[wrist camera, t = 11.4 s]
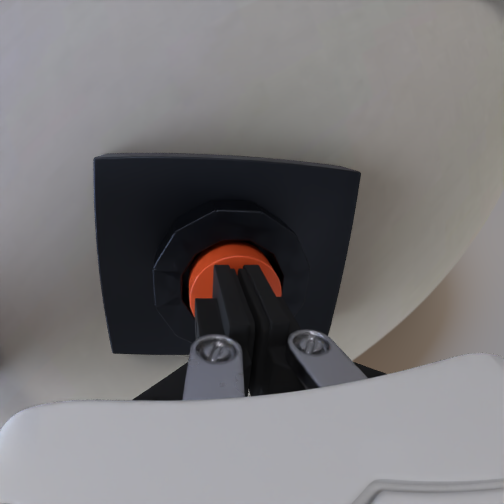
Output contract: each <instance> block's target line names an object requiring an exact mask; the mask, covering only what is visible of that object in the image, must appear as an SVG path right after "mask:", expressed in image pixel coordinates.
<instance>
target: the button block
mask: <svg viewBox="0 0 504 504" xmlns="http://www.w3.org/2000/svg"><path fill="white" fill-rule="evenodd" d="M360 176H361V173H360V172H359V171H355V170H352V169H349V168H345V167H342V166H336V165H328V164H320V163H312V162H303V161H294V160H284V159H273V158H261V157H248V156H233V155H214V154H188V153H110V154H104V155H101V156H98V157H95V158H94V211H95V229H96V243H97V254H98V264H99V273H100V281H101V289H102V296H103V303H104V310H105V316H106V322H107V328H108V333H109V338H110V344H111V349H112V353H115V354H144V355H189V354H190V348H191V345H192V343H193V342H194V341H195V340H196V336H195V317H194V315H193V313H192V311H191V308H190V301H189V282H188V278H189V272H190V268H191V266H192V264H193V262H194V260H195V259H196V257H197V256H198V255H199V254H200V253H201V252H202V251H203V250H205V249H207V248H209V247H210V246H212V245H214V244H216V243H218V242H221V241H226V240H239V241H244V242H247V243H250V244H252V245H254V246H255V247H257V248H258V249H259V250H260V251H261V252H262V253H263V254H264V255H265V256H266V258H267V260H268V261H269V263H270V264H271V266H272V268H273V269H274V271H275V273H276V274H277V276H278V278H279V280H280V284H281V291H282V294H281V297H282V298H283V299H284V301H285V303H286V304H287V306H288V308H289V310H290V311H291V313H292V315H293V316H294V318H295V320H296V322H297V323H298V325H299V327H300V328H301V330H302V329H310V330H316V331H319V332H322V333H324V334H326V335H327V336H328V333H329V329H330V326H331V322H332V318H333V314H334V310H335V305H336V301H337V297H338V293H339V288H340V284H341V279H342V275H343V270H344V266H345V261H346V256H347V251H348V246H349V241H350V236H351V230H352V225H353V219H354V214H355V208H356V202H357V196H358V189H359V183H360Z"/></svg>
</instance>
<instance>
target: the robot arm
mask: <svg viewBox="0 0 504 504" xmlns="http://www.w3.org/2000/svg"><path fill="white" fill-rule="evenodd" d="M195 336H196V340H195V341H194V342H193V343H192V345H191V348H190V354H189V360H188V362H187V363H186V364H185V365H183V366H182V367H180V368H179V369H177V370H176V371H174V372H173V373H172V374H170V375H169V376H167V377H166V378H164V379H163V380H161V381H160V382H158V383H157V384H155V385H154V386H152V387H151V388H149V389H148V390H146V391H145V392H143V393H142V394H140V395H139V396H137V397H136V398H134V399H133V400H98V399H96V400H69V401H57V402H52V403H47V404H41V405H37V406H33V407H30V408H27V409H25V410H22V411H20V412H18V413H17V414H15V415H14V416H12V417H11V418H10V419H9V420H8V421H7V422H6V423H5V424H4V426H3V427H2V428H1V430H0V504H504V358H503V357H502V356H499V355H495V354H490V353H471V354H465V355H460V356H456V357H452V358H448V359H444V360H440V361H436V362H433V363H430V364H426V365H423V366H419V367H415V368H411V369H408V370H403V371H399V372H395V373H391V374H385V373H383V372H380V371H377V370H374V369H371V368H368V367H366V366H363V365H360V364H357V363H355V362H352V361H351V359H350V358H349V357H348V356H347V355H346V354H345V353H344V352H343V351H342V350H341V349H340V348H339V347H338V346H337V345H336V343H335V342H334V341H333V340H332V339H331V338H330V337H328V336H327V335H326V334H324V333H322V332H319V331H316V330H310V329H302V330H301V328H300V327H299V325H298V323H297V322H296V320H295V318H294V316H293V315H292V313H291V311H290V310H289V308H288V306H287V304H286V303H285V301H284V299H283V298H282V297H276V295H275V293H274V292H273V290H272V288H271V286H270V284H269V283H268V281H267V279H266V277H265V275H264V274H263V272H262V270H261V268H260V266H259V265H244V266H243V268H239V269H238V273H237V274H236V271H235V269H230V266H229V265H214V269H213V293H212V298H195ZM248 389H249V391H250V395H251V397H247V396H248Z"/></svg>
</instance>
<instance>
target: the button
mask: <svg viewBox="0 0 504 504" xmlns="http://www.w3.org/2000/svg"><path fill="white" fill-rule="evenodd" d="M214 265H229V266H230V269H235V271H236V274H237V273H238V269H239V268H243V266H244V265H259V266H260V268H261V270H262V272H263V274H264V275H265V277H266V279H267V281H268V283H269V284H270V286H271V288H272V290H273V292H274V293H275V295H276V297H281V294H282V291H281V284H280V280H279V278H278V276H277V274H276V273H275V271H274V269H273V268H272V266H271V264H270V263H269V261H268V260H267V258H266V256H265V255H264V254H263V253H262V252H261V251H260V250H259V249H258V248H257V247H255V246H254V245H252V244H250V243H247V242H244V241H239V240H226V241H221V242H218V243H216V244H214V245H212V246H210V247H209V248H207V249H205V250H203V251H202V252H201V253H200V254H199V255H198V256H197V257H196V259H195V260H194V262H193V264H192V266H191V268H190V272H189V278H188V282H189V301H190V308H191V311H192V313H193V315H194V317H195V298H212V293H213V269H214Z"/></svg>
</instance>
